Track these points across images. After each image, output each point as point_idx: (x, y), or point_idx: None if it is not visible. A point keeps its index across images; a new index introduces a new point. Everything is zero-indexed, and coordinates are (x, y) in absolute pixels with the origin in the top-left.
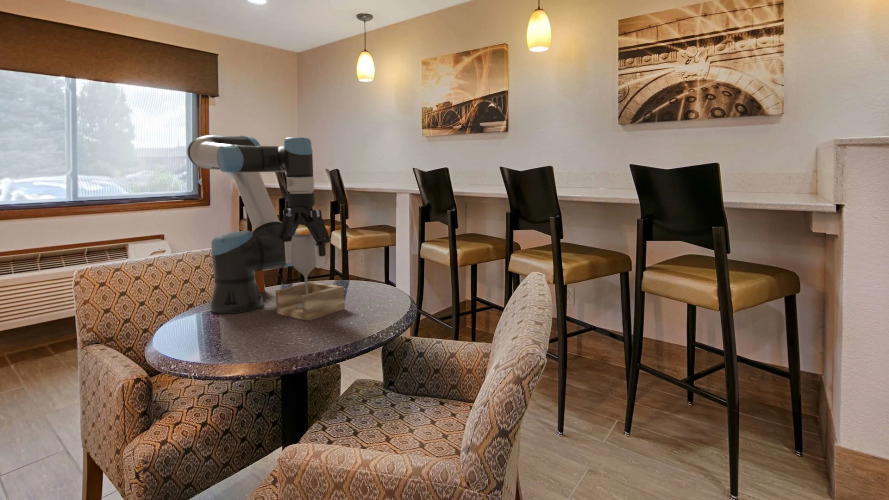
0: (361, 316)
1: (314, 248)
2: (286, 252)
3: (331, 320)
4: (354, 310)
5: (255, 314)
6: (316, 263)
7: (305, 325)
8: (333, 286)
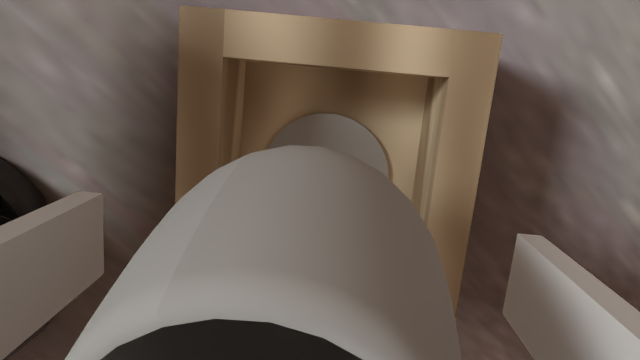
0: (623, 112)
1: (453, 314)
2: (35, 329)
3: (522, 223)
4: (524, 39)
5: None
6: (523, 335)
7: (463, 321)
8: (430, 61)
